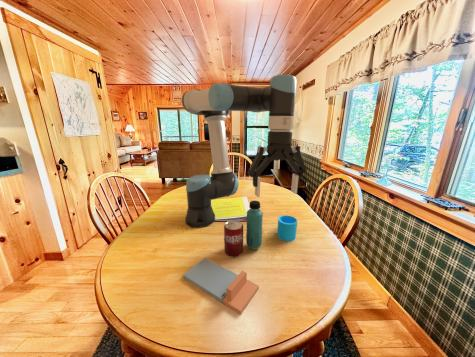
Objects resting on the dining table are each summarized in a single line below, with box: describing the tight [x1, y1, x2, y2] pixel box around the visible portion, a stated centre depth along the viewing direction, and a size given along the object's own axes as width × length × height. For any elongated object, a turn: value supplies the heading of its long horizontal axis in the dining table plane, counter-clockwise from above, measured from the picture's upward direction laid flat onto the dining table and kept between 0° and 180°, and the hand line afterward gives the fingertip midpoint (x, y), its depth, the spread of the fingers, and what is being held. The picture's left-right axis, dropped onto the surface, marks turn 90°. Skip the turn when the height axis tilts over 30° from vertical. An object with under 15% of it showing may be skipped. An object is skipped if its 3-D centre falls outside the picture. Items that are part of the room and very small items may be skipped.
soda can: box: [223, 220, 244, 258], centre depth 74 cm, size 7×7×12 cm
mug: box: [276, 214, 298, 242], centre depth 87 cm, size 12×8×8 cm
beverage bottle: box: [245, 200, 264, 250], centre depth 76 cm, size 6×7×20 cm
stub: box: [222, 270, 260, 316], centre depth 56 cm, size 6×10×5 cm, turn 146°
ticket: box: [182, 257, 239, 303], centre depth 63 cm, size 16×10×2 cm, turn 56°
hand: (275, 194), depth 67 cm, fingers open, 13 cm apart
